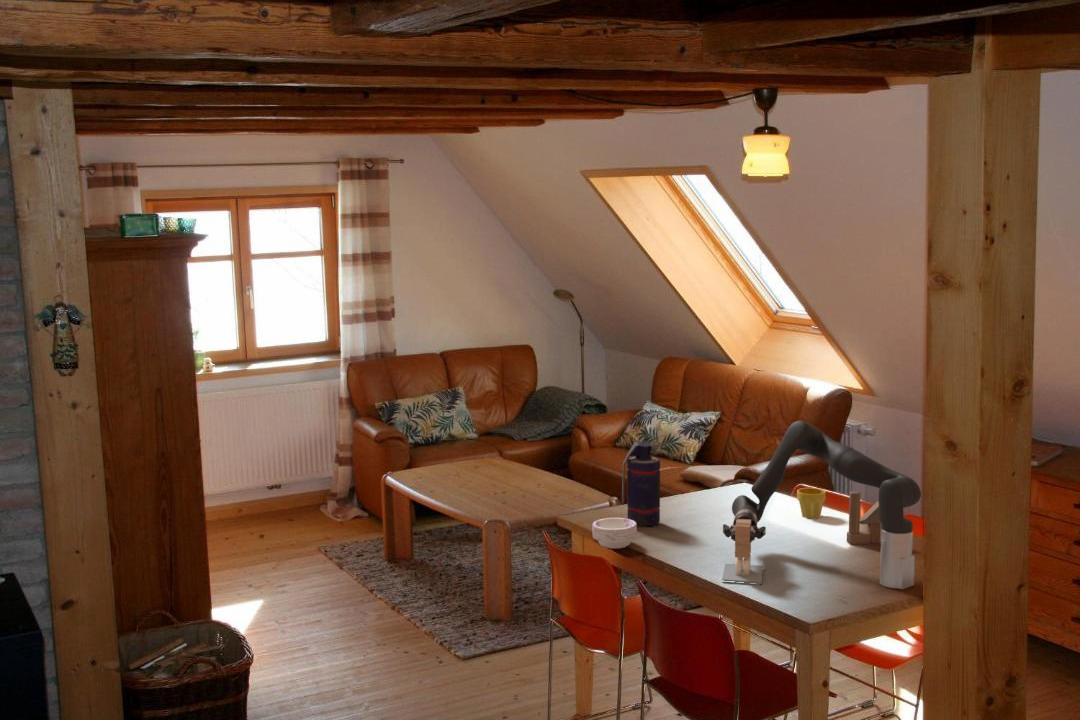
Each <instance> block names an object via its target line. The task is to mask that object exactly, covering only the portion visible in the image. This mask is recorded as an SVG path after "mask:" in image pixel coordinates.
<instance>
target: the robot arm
mask: <svg viewBox="0 0 1080 720" xmlns="http://www.w3.org/2000/svg"><path fill="white" fill-rule="evenodd" d="M797 450H799V451H800V452H804V453H807V454H809V455H811V456H815V457H817V458H819V459H820V460H823V461H824V462H825V463H826V464H827V465H829V466H830V468H831V469H832V470H833V471H835V472H836V473H838V474H839V475H841V476H843V477H845V479H847V480H849V481H853V482H854V483H858V484H862V485H865V486H870V487H874V488H877V489H878V502H879V518H880V522H881V523H880V524H881V532H880V555H879V584H880V585H881V586H883V587H886V588H890V589H898V590H904V589H907V588H908V589H909V588H911V587H914V585H915V565H916V564H915V563H916V562H915V560H916V559H915V558H916V557H915V556H916V555H913V535H914V532H913V531H914V523H913V521H912V520H911V519H909V518H907V517H905V516H904V515H905V514H904V508H909V507H912V506H914V505H916V504H917V503H919V501H920V500H921V496H922V491H921V487H920V486H919V485H918V483H917V481H915V479H913V478H911V477H910V476H908V475H905V474H902V473H900V472H898V471H895V470H892V469H891V468H888V467H887V466H885V465H883V464H881V463H880V462H878V461H876V460H874V459H872V458H871V457H868V456H867V455H866V454H865V453H862V452H860V451H859V450H857V449H855V448H853V447H851V446H849V445H847V444H843V443H841V442H839V441H836V440H834V439H833V438H831V437H829V436H828V435H827V434H825V433H824V432H823V431H822V430H820V429H819V428H818V427H816V426H814V425H812V424H810V423H808V422H806V421H803V420H797V421H794V422H792V423H791V424H790V425H789V427H788V428H787V430H786V432H785V433H784V435H783V437H782V439H781V440H780V442H779V444H778V446H777V448H776V449H775V452H774V453H773V456H772V457H771V458H770V461H769V463H768V464H767V466H766V467H765V469H764V470H763V472H762V473H761V474H760V476H759V477H758V478H756V480H755V482H754V483H753V484H752V486H751V491H752V493H753V494H754V495H755V496H756V498H757V500H758V503H757V502H756V501H754V500H753V499H751V498H750V497H748V496H747V495H739V496H737V497H736V498H735V499H734V500H733V501H732V504H731V511H732V515H733V516H734V518H733V523H732V524H731V525H730V526H729V525H728V524H722V533H723V534H724V537H726V538H730V539H731V540H732V542H735V525H736V520H737V519H749V520H751V532H750V542H751V543H752V542H754V541H755V540H756V539H758V540H760V539H762V538H763V537H764V536H765V535H766V534H767V533H766V530H767V529H766V526H761V527H758V523H759V522H760V520H762V517H763V515H764V512H765V509H766V506H767V504H768V502H769V501H770V499H771V498H772V496H773V494H775V492H776V491H777V490H778V488H779V487H780V485H781V484H782V482H783V480H784V477H785V475H786V469H787V466H788V462H789V461H790V459H791V457H792V456H793V455H794V453H796V451H797Z"/></svg>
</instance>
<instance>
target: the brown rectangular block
mask: <svg viewBox="0 0 1080 720" xmlns="http://www.w3.org/2000/svg"><path fill="white" fill-rule="evenodd" d="M750 532H751V520H749V519H737V520H736V525H735V541H734V558H736V557H742V558H743V559H744V558H750V555H751V551H752V550H751V549H752V547H751V546H752V542H750Z"/></svg>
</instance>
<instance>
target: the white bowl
mask: <svg viewBox="0 0 1080 720" xmlns="http://www.w3.org/2000/svg"><path fill="white" fill-rule="evenodd" d="M591 526H592V527H591V528H592V538H593V539H594V540H596V541H597V542H598V544H599V545H600V546H601V547H603V548H606V549H612V550H613V549H614V550H617V549H618V550H619V549H623V548H624V549H625V548H627V547H629V546H630V544H631V542H632V541H634V540H636V538H637V535H638V533H637V530H638V529H637V527H638V526H637V524H636V522H635V521H633V520H630V519H627V518H624V517H606V518H600V519H597V520H595V521H593V523H592V525H591ZM628 545H629V546H628ZM626 546H627V547H626Z"/></svg>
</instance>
